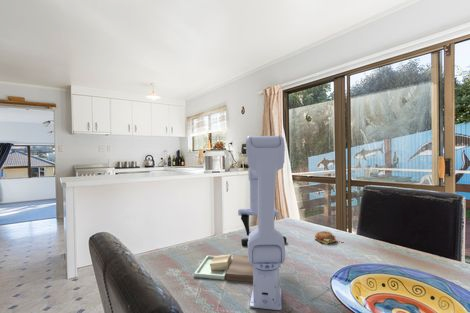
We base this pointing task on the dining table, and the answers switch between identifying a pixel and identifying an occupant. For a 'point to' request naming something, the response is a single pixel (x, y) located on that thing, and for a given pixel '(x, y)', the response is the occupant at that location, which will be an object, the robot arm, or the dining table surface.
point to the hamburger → (325, 237)
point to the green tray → (209, 270)
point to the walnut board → (240, 269)
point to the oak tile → (220, 262)
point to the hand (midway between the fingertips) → (258, 235)
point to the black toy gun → (245, 240)
